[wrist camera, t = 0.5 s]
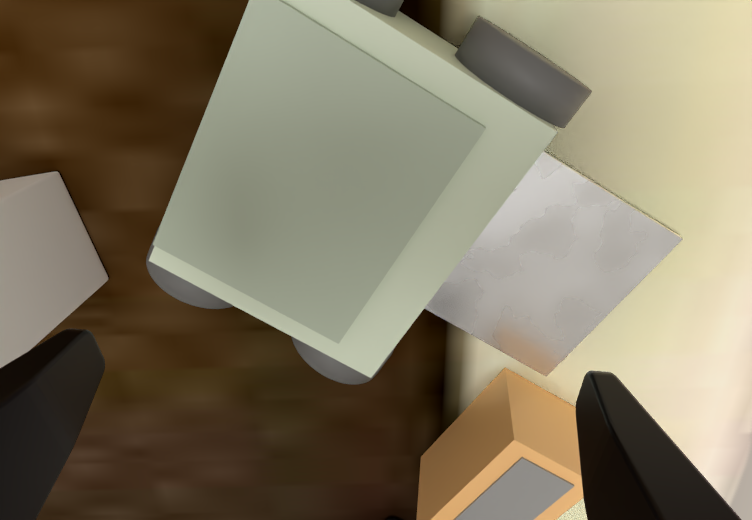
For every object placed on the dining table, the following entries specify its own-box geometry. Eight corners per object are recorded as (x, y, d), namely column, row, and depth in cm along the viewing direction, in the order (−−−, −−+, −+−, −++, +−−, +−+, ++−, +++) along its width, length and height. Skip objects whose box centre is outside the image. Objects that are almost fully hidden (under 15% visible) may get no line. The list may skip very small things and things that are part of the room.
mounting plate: (545, 371, 27) (546, 376, 27) (400, 290, 26) (399, 294, 26) (678, 235, 23) (682, 239, 23) (513, 131, 22) (514, 134, 22)
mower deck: (384, 338, 28) (370, 412, 23) (176, 225, 26) (115, 280, 21) (576, 77, 21) (612, 108, 16) (309, -97, 19) (263, -119, 15)
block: (485, 489, 32) (490, 573, 28) (421, 455, 31) (415, 535, 27) (576, 406, 28) (598, 487, 24) (504, 365, 28) (514, 441, 23)
